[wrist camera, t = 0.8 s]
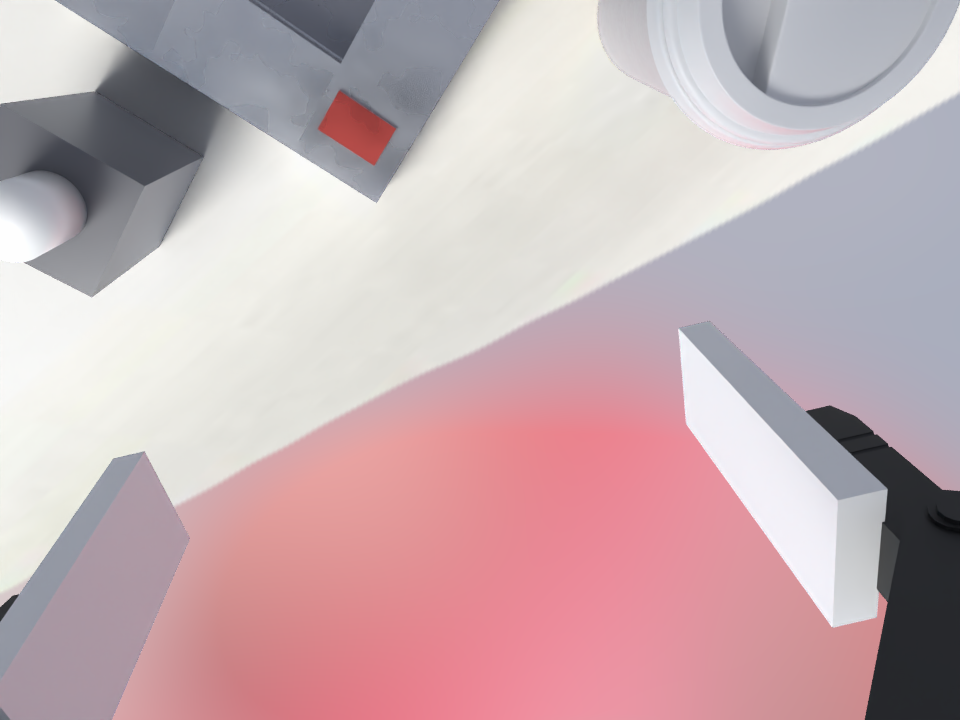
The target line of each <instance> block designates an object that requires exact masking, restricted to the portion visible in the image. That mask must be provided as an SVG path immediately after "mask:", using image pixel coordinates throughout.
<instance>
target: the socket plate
mask: <svg viewBox="0 0 960 720" xmlns="http://www.w3.org/2000/svg"><path fill="white" fill-rule="evenodd" d="M55 1H57V2H59V3H60V4H62V5H63V6H65V7H66V8H68V9H70V10H71V11H73V12H74V13H76V14H78V15H79V16H81V17H82V18H84V19H86V20H87V21H89V22H90V23H92V24H93V25H95V26H97V27H98V28H100V29H101V30H103V31H105V32H106V33H108V34H109V35H111V36H112V37H114V38H116V39H117V40H119V41H120V42H122V43H124V44H125V45H127V46H128V47H130V48H132V49H133V50H135V51H136V52H138V53H139V54H141V55H143V56H144V57H146V58H147V59H149V60H151V61H152V62H154V63H155V64H157V65H158V66H160V67H162V68H163V69H165V70H166V71H168V72H170V73H171V74H173V75H174V76H176V77H178V78H179V79H181V80H182V81H184V82H185V83H187V84H189V85H190V86H192V87H193V88H195V89H197V90H198V91H200V92H201V93H203V94H204V95H206V96H208V97H209V98H211V99H212V100H214V101H216V102H217V103H219V104H220V105H222V106H224V107H225V108H227V109H228V110H230V111H231V112H233V113H235V114H236V115H238V116H239V117H241V118H243V119H244V120H246V121H247V122H249V123H250V124H252V125H254V126H255V127H257V128H258V129H260V130H262V131H263V132H265V133H266V134H268V135H270V136H271V137H273V138H274V139H276V140H277V141H279V142H281V143H282V144H284V145H285V146H287V147H289V148H290V149H292V150H293V151H295V152H296V153H298V154H300V155H301V156H303V157H304V158H306V159H308V160H309V161H311V162H312V163H314V164H316V165H317V166H319V167H320V168H322V169H323V170H325V171H327V172H328V173H330V174H331V175H333V176H335V177H336V178H338V179H339V180H341V181H342V182H344V183H346V184H347V185H349V186H350V187H352V188H354V189H355V190H357V191H358V192H360V193H362V194H363V195H365V196H366V197H368V198H369V199H371V200H373V201H374V202H376V203H377V202H378V200H379V198H380V197H381V195H382V193H383V192H384V190H385V188H386V187H387V185H388V183H389V182H390V180H391V178H392V177H393V175H394V173H395V172H396V170H397V169H398V167H399V165H400V164H401V162H402V160H403V159H404V157H405V155H406V154H407V152H408V150H409V149H410V147H411V145H412V144H413V142H414V140H415V139H416V137H417V136H418V134H419V132H420V131H421V129H422V127H423V126H424V124H425V122H426V121H427V119H428V117H429V116H430V114H431V112H432V111H433V109H434V107H435V106H436V104H437V103H438V101H439V99H440V98H441V96H442V94H443V93H444V91H445V89H446V88H447V86H448V84H449V83H450V81H451V79H452V78H453V76H454V74H455V73H456V71H457V70H458V68H459V66H460V65H461V63H462V61H463V60H464V58H465V56H466V55H467V53H468V51H469V50H470V48H471V46H472V45H473V43H474V41H475V40H476V38H477V37H478V35H479V33H480V32H481V30H482V28H483V27H484V25H485V23H486V22H487V20H488V18H489V17H490V15H491V13H492V12H493V10H494V9H495V7H496V5H497V4H498V2H499V0H55Z"/></svg>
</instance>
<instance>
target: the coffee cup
mask: <svg viewBox="0 0 960 720" xmlns="http://www.w3.org/2000/svg"><path fill="white" fill-rule="evenodd" d="M959 3H960V0H599V3H598V12H597V21H598V30H599V35H600V39H601V42H602V45H603V47H604V50H605V52H606V53H607V55H608V57H609V58H610V60H611V61H612V62H613V64H614V65H615V66H616V67H617V68H618V69H619V70H620V71H622V72H623V73H624V74H626V75H627V76H629V77H631V78H633V79H635V80H637V81H639V82H641V83H643V84H645V85H647V86H649V87H651V88H653V89H655V90H657V91H659V92H661V93H663V94H665V95H667V96H669V97H671V98H672V99H673V100H674V102H675V103H676V104H677V106H678V107H679V108H680V109H681V111H682V112H683V113H684V114H685V115H686V116H687V117H688V118H689V119H690V120H691V121H692V122H694V123H695V124H696V125H697V126H699V127H700V128H701V129H703V130H704V131H706V132H707V133H709V134H710V135H712V136H714V137H716V138H718V139H720V140H722V141H725V142H727V143H730V144H733V145H737V146H741V147H745V148H751V149H761V150H776V149H786V148H792V147H797V146H802V145H806V144H810V143H813V142H816V141H820V140H822V139H825V138H828V137H830V136H833V135H835V134H837V133H839V132H841V131H843V130H845V129H847V128H849V127H850V126H852V125H854V124H856V123H857V122H859V121H861V120H862V119H864V118H865V117H867V116H868V115H870V114H871V113H872V112H874V111H875V110H876V109H878V108H879V107H880V106H881V105H883V104H884V103H885V102H887V101H888V100H889V99H891V98H892V97H893V96H895V95H896V94H897V93H898V92H899V91H901V90H902V89H903V88H904V87H905V86H906V85H907V84H908V83H909V82H910V81H911V80H912V79H913V78H914V77H915V76H916V75H917V74H918V73H919V71H920V70H921V69H922V68H923V67H924V65H925V64H926V63H927V62H928V60H929V59H930V58H931V56H932V55H933V53H934V52H935V50H936V49H937V47H938V46H939V44H940V43H941V41H942V39H943V38H944V36H945V34H946V32H947V30H948V28H949V26H950V24H951V22H952V20H953V18H954V16H955V13H956V11H957V8H958V6H959Z"/></svg>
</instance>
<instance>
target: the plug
mask: <svg viewBox="0 0 960 720" xmlns="http://www.w3.org/2000/svg"><path fill="white" fill-rule="evenodd" d="M203 158H204V157H203V156H202V155H200V154H198V153H197V152H195V151H193V150H192V149H190V148H188V147H187V146H185V145H183V144H182V143H180V142H178V141H177V140H175V139H173V138H172V137H170V136H168V135H167V134H165V133H163V132H162V131H160V130H158V129H157V128H155V127H153V126H152V125H150V124H148V123H147V122H145V121H144V120H142V119H140V118H139V117H137V116H135V115H134V114H132V113H130V112H129V111H127V110H125V109H124V108H122V107H120V106H119V105H117V104H115V103H114V102H112V101H110V100H109V99H107V98H105V97H104V96H102V95H100V94H99V93H97V92H87V93H80V94H72V95H64V96H57V97H49V98H42V99H34V100H26V101H19V102H11V103H3V104H0V260H3V261H7V262H15V263H21V262H24V263H26V264H28V265H30V266H32V267H34V268H36V269H37V270H39V271H41V272H43V273H45V274H47V275H49V276H51V277H53V278H55V279H57V280H59V281H61V282H63V283H65V284H67V285H69V286H71V287H73V288H75V289H77V290H79V291H81V292H83V293H85V294H87V295H88V296H90V297H93V296H94V295H96V294H97V293H98V292H100V291H101V290H102V289H104V288H105V287H106V286H108V285H109V284H110V283H112V282H113V281H114V280H116V279H117V278H118V277H120V276H121V275H122V274H123V273H125V272H126V271H127V270H129V269H130V268H131V267H133V266H134V265H135V264H137V263H138V262H139V261H141V260H142V259H143V258H145V257H146V256H147V255H149V254H150V253H151V252H153V251H154V250H155V249H157V248H158V247H159V246H160V244H161V242H162V240H163V238H164V236H165V234H166V232H167V230H168V228H169V226H170V224H171V222H172V220H173V218H174V216H175V214H176V212H177V210H178V208H179V206H180V204H181V202H182V200H183V198H184V196H185V194H186V192H187V190H188V188H189V186H190V184H191V182H192V180H193V178H194V176H195V174H196V172H197V170H198V168H199V166H200V164H201V162H202V160H203Z"/></svg>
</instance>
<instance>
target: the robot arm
mask: <svg viewBox="0 0 960 720" xmlns="http://www.w3.org/2000/svg"><path fill="white" fill-rule="evenodd" d="M678 330H679V342H680V354H681V367H682V378H683V392H684V404H685V417H686V424H687V426H688V427H689V428H690V430H691V431H692V433H693V434H694V435H695V437H696V438H697V440H698V441H699V442H700V444H701V445H702V447H703V448H704V449H705V451H706V452H707V454H708V455H709V456H710V458H711V459H712V460H713V462H714V463H715V465H716V466H717V468H718V469H719V470H720V472H721V473H722V474H723V476H724V477H725V479H726V480H727V481H728V483H729V484H730V486H731V487H732V488H733V490H734V491H735V492H736V494H737V495H738V497H739V498H740V500H741V501H742V502H743V504H744V505H745V507H746V508H747V509H748V511H749V512H750V513H751V515H752V516H753V518H754V519H755V520H756V522H757V523H758V525H759V526H760V527H761V529H762V530H763V532H764V533H765V534H766V536H767V537H768V539H769V540H770V541H771V543H772V544H773V546H774V547H775V548H776V550H777V551H778V552H779V554H780V555H781V557H782V558H783V559H784V561H785V562H786V564H787V565H788V566H789V568H790V569H791V571H792V572H793V573H794V575H795V576H796V578H797V579H798V580H799V582H800V583H801V585H802V586H803V587H804V589H805V590H806V591H807V593H808V594H809V596H810V597H811V598H812V600H813V601H814V603H815V604H816V605H817V607H818V608H819V610H820V611H821V612H822V614H823V615H824V616H825V618H826V619H827V621H828V622H829V623H830V625H831V626H832V627H837V626H842V625H846V624H850V623H855V622H859V621H863V620H868V619H872V618H876V617H877V608H878V596H879V592H880V593H881V595H882V596H883V597H884V598H885V599H886V601H887V602H888V604H887V609H886V614H885V619H884V624H883V629H882V634H881V640H880V645H879V650H878V655H877V660H876V665H875V670H874V675H873V680H872V685H871V691H870V695H869V701H868V706H867V711H866V716H865V720H960V491H951V490H942V489H940V488H939V487H938V486H937V485H936V484H935V483H933V482H932V481H931V480H930V479H929V478H928V477H926V476H925V475H924V474H923V473H922V472H920V471H919V470H918V469H917V468H916V467H915V466H913V465H912V464H911V463H910V462H909V461H908V460H906V459H905V458H904V457H903V456H902V455H900V454H899V453H898V452H897V451H896V450H895V449H893V448H892V447H889V446H888V443H886V442H885V441H884V440H883V439H882V438H881V437H879V436H878V435H874V433H873V431H872V430H871V429H870V428H869V427H868V426H866V425H865V424H864V423H863V422H862V421H860V420H859V419H858V418H857V417H855V416H854V415H851V414H849V413H847V412H844V411H842V410H839V409H837V408H835V407H832V406H826V407H821V408H817V409H813V410H808V411H805V410H804V409H802V408H801V407H800V406H799V405H798V404H797V403H796V402H795V401H794V400H793V399H792V398H791V397H790V396H789V395H788V394H786V392H784V391H783V390H782V389H781V388H780V387H779V386H778V385H777V384H776V383H775V382H774V381H773V380H772V379H771V378H770V377H769V376H768V375H766V374H765V373H764V372H763V371H762V370H761V369H760V368H759V367H758V366H757V365H756V364H755V363H754V362H753V361H752V360H751V359H749V358H748V357H747V356H746V355H745V354H744V353H743V352H742V351H741V350H740V349H739V348H738V347H737V346H736V345H735V344H734V343H733V342H731V341H730V340H729V339H728V338H727V337H726V336H725V335H724V334H723V333H722V332H721V331H720V330H719V329H718V328H716V326H715V325H713V324H712V323H711V322H710V321H707V322H703V323H698V324H694V325H689V326H685V327H681V328H678ZM189 539H190V537H189V535H188V533H187V532H186V530H185V528H184V526H183V524H182V522H181V520H180V518H179V516H178V514H177V513H176V511H175V509H174V507H173V505H172V503H171V501H170V499H169V497H168V495H167V493H166V491H165V490H164V488H163V486H162V484H161V482H160V480H159V478H158V476H157V474H156V472H155V470H154V469H153V467H152V465H151V463H150V461H149V459H148V457H147V455H146V453H145V451H144V452H140V453H136V454H131V455H127V456H123V457H118V458H114V459H113V460H112V461H111V463H110V464H109V466H108V467H107V469H106V470H105V472H104V473H103V474H102V476H101V477H100V479H99V480H98V482H97V483H96V485H95V486H94V487H93V489H92V490H91V492H90V493H89V495H88V496H87V498H86V499H85V500H84V502H83V503H82V505H81V506H80V508H79V509H78V511H77V512H76V513H75V515H74V516H73V518H72V519H71V521H70V522H69V524H68V525H67V526H66V528H65V529H64V531H63V532H62V534H61V535H60V537H59V538H58V539H57V541H56V542H55V544H54V545H53V547H52V548H51V550H50V551H49V552H48V554H47V555H46V557H45V558H44V560H43V561H42V563H41V564H40V565H39V567H38V568H37V570H36V571H35V573H34V574H33V576H32V577H31V578H30V580H29V581H28V583H27V584H26V586H25V587H24V589H23V590H22V591H21V593H20V594H18V595H14V596H12V597H11V598H10V599H9V600H8V601H7V602H6V603H4V604H3V605H2V606H1V607H0V720H112V718H113V715H114V713H115V711H116V709H117V706H118V704H119V702H120V699H121V697H122V695H123V692H124V690H125V688H126V685H127V683H128V681H129V678H130V676H131V674H132V672H133V669H134V667H135V664H136V662H137V660H138V658H139V655H140V652H141V651H142V648H143V646H144V644H145V641H146V639H147V637H148V634H149V632H150V630H151V627H152V625H153V623H154V620H155V618H156V616H157V613H158V611H159V609H160V606H161V604H162V602H163V600H164V597H165V595H166V593H167V590H168V588H169V586H170V583H171V581H172V579H173V576H174V574H175V572H176V569H177V567H178V565H179V563H180V560H181V558H182V555H183V553H184V551H185V549H186V546H187V544H188V542H189Z"/></svg>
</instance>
